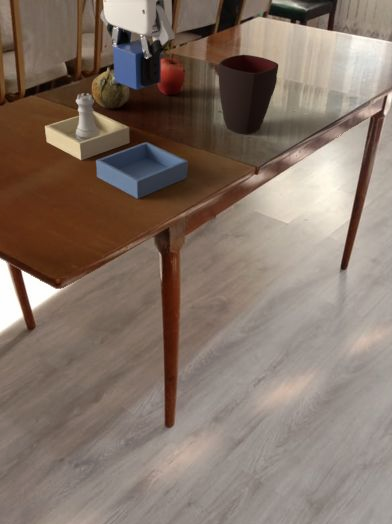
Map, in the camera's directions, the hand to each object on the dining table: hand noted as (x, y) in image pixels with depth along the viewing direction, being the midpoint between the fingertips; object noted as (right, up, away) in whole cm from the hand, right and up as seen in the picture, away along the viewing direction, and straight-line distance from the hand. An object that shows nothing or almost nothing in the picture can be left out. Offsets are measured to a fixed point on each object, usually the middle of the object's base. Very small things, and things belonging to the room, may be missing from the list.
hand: (137, 77), depth 95 cm
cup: (+19, +3, +30) cm, 35 cm away
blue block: (0, 0, 0) cm, 1 cm away
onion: (-8, +9, +34) cm, 37 cm away
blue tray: (0, -12, +11) cm, 16 cm away
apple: (+3, +14, +41) cm, 44 cm away
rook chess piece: (-11, -3, +20) cm, 23 cm away
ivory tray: (-11, -3, +20) cm, 23 cm away
